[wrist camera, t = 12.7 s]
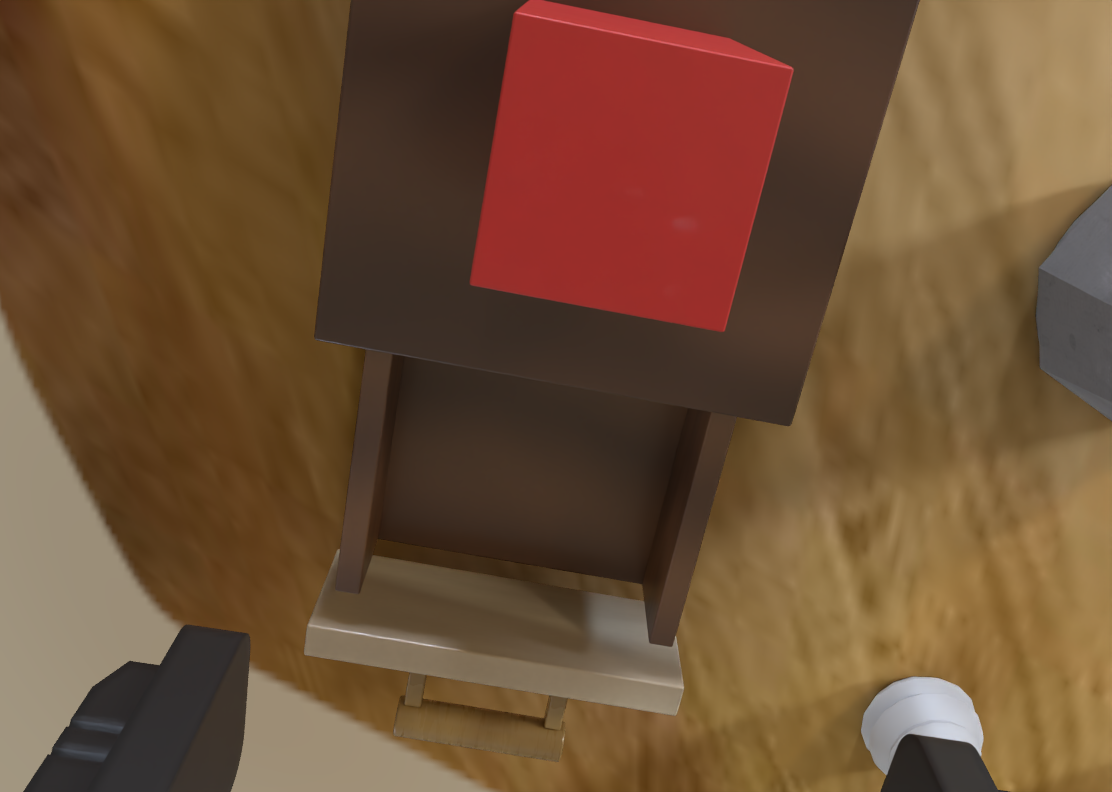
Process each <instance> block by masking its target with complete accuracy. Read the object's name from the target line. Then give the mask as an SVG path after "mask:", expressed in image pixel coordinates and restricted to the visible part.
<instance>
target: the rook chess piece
mask: <svg viewBox="0 0 1112 792" xmlns="http://www.w3.org/2000/svg"><path fill="white" fill-rule="evenodd" d="M861 733H862V736H863V739H864V742H865V745H866V747H867V749H868V750H869V751H870V752H871V755H872V758H873V761H874V763H875V764H876V765H877V766H878V768H879V769H880V770H881V771H882V772H883V773H885V774H886V775H887V773H888V770H889V767H890V765H891V762H892V759H893V757H894V754H895V751H896V749H897V746H898V744H899V742H900V741H901V739H902V738H903V737H904V736H905V735H907V734H916V735H922V736H929V737H936V738H943V739H949V740H956V741H963V742H968V743H970V744H972V745H973V746H974V747H975V748H976V750H977V751H978V753H979V755H980V757H981V754H982V753H981V748H982V744H983V731H982V728H981V724H980V721H979V718H978V715H977V714H976V713H975V710H974V707H973V703H972V700H971V699H970V697H969V696H968V695H967V694H966V693H965V692H964V691H963V690H962V689H961V688H960V687H959V686H957V685H955V684H952V683H949V682H947V681H944V680H942V679H939V678H934V677H910V678H906V679H903V680H899V681H896V682H893V683H892V684H890V685H889V686H887V687H886V688H885V689H883V690H882V691H880V692H879V693H878V694H877V695H876V697H875V698H874V699H873V701H872V702H871V704H870V705H869V707H868V708H867V710H866V711H865V713H864V716H863V722H862V728H861Z"/></svg>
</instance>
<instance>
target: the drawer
mask: <svg viewBox="0 0 1112 792" xmlns="http://www.w3.org/2000/svg"><path fill="white" fill-rule="evenodd" d="M736 419H737V417H735V416H729V415H724V414H719V413H713V412H708V411H702V410H697V409H691V408H686V407H680V406H675V405H669V404H664V403H658V402H653V401H647V400H642V399H636V398H631V397H625V396H620V395H614V394H609V393H603V392H598V391H592V390H587V389H581V388H576V387H570V386H565V385H559V384H554V383H549V382H543V381H538V380H532V379H527V378H521V377H516V376H510V375H505V374H499V373H494V372H488V371H483V370H477V369H472V368H466V367H461V366H455V365H450V364H444V363H439V362H433V361H428V360H422V359H417V358H411V357H406V356H400V355H395V354H389V353H384V352H379V351H373V350H368V349H366V352H365V360H364V367H363V375H362V383H361V391H360V398H359V406H358V414H357V422H356V429H355V437H354V445H353V453H352V460H351V468H350V476H349V484H348V491H347V499H346V507H345V515H344V522H343V530H342V538H341V545H340V549H339V550H337V552H336V555H335V557H334V560H333V562H332V565H331V567H330V570H329V572H328V575H327V577H326V580H325V582H324V585H323V587H322V590H321V592H320V595H319V597H318V600H317V602H316V605H315V607H314V610H313V612H312V615H311V617H310V620H309V622H308V625H307V631H306V639H305V648H304V654H305V655H308V656H314V657H320V658H326V659H332V660H338V661H345V662H351V663H357V664H363V665H369V666H375V667H381V668H387V669H393V670H399V671H405V672H409V678H408V684H407V690H406V696H404V695H402V696H401V697H400V699H399V704H398V708H397V713H396V719H395V724H394V730H393V734H394V735H395V736H399V737H405V738H411V739H418V740H424V741H430V742H436V743H442V744H449V745H455V746H461V747H467V748H474V749H480V750H486V751H492V752H498V753H505V754H511V755H517V756H523V757H530V758H536V759H542V760H548V761H554V762H559V760H560V758H561V755H562V751H563V746H564V739H565V723H564V722H563V721H562V720H563V716H564V712H565V708H566V704H567V699H568V698H570V699H576V700H582V701H588V702H594V703H600V704H606V705H612V706H618V707H624V708H630V709H637V710H643V711H649V712H655V713H661V714H667V715H673V716H675V715H676V714H677V712H678V708H679V705H680V701H681V698H682V694H683V691H684V684H683V678H682V671H681V665H680V659H679V652H678V646H677V639H676V633H677V629H678V626H679V622H680V619H681V615H682V611H683V608H684V604H685V601H686V597H687V594H688V590H689V586H690V583H691V579H692V576H693V572H694V569H695V565H696V561H697V558H698V554H699V551H700V547H701V544H702V540H703V536H704V533H705V529H706V526H707V522H708V519H709V515H710V511H711V508H712V504H713V501H714V497H715V494H716V490H717V486H718V483H719V479H720V476H721V472H722V469H723V465H724V462H725V458H726V454H727V451H728V447H729V444H730V440H731V437H732V433H733V429H734V426H735V422H736ZM378 539H383V540H389V541H394V542H400V543H406V544H412V545H418V546H423V547H429V548H435V549H441V550H447V551H453V552H458V553H464V554H470V555H476V556H482V557H488V558H493V559H499V560H505V561H511V562H517V563H522V564H528V565H534V566H540V567H546V568H552V569H557V570H563V571H569V572H575V573H581V574H587V575H592V576H598V577H604V578H610V579H616V580H621V581H627V582H633V583H639V584H642V586H643V595H644V601H639V600H633V599H628V598H622V597H616V596H610V595H604V594H598V593H592V592H587V591H581V590H575V589H569V588H563V587H557V586H551V585H546V584H540V583H534V582H528V581H522V580H516V579H510V578H505V577H499V576H493V575H487V574H481V573H475V572H469V571H464V570H458V569H452V568H446V567H440V566H434V565H428V564H423V563H417V562H411V561H405V560H399V559H393V558H387V557H382V556H376V555H373V552H374V549H375V546H376V543H377V540H378ZM427 675H430V676H436V677H442V678H448V679H454V680H460V681H466V682H472V683H478V684H484V685H491V686H497V687H503V688H509V689H515V690H521V691H527V692H533V693H539V694H545V695H549V699H548V703H547V708H546V712H545V716H544V718H539V717H533V716H526V715H520V714H514V713H508V712H502V711H496V710H490V709H483V708H477V707H471V706H465V705H459V704H453V703H447V702H440V701H434V700H428V699H423V694H424V688H425V682H426V676H427Z"/></svg>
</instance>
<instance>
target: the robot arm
mask: <svg viewBox="0 0 1112 792" xmlns="http://www.w3.org/2000/svg"><path fill="white" fill-rule="evenodd" d="M249 660H250V637H249V634H248V633H241V632H234V631H228V630H221V629H214V628H208V627H201V626H194V625H185V626H184V627H183V628H182V629H181V630H180V632H179V633H178V635H177V637H176V638H175V640H174V642H173V644H172V645H171V647H170V649H169V650H168V652H167V654H166V656H165V657H164V659H163V661H162V663H161V664H160V665H154V664H147V663H140V662H133V661H129V662H127V663H126V664H124V665H123V666H122V667H120V668H119V669H117V670H116V671H115V672H113V673H112V674H110V675H109V676H107V677H106V678H105V679H103V680H102V681H100V682H99V683H98V684H96V685H95V686H93V687H92V689H91V690H90V691H89V693H88V694H87V696H86V698H85V699H84V701H83V702H82V704H81V705H80V707H79V708H78V710H77V711H76V713H75V714H74V716H73V717H72V719H71V722H70V725H69V727H66V728H65V729H64V731H63V732H62V734H61V735H60V737H59V738H58V740H57V741H56V743H55V744H54V746H53V749H52V752H51V755H47V757H46V758H45V760H44V761H43V763H42V764H41V766H40V767H39V769H38V770H37V772H36V773H35V775H34V776H33V778H32V779H31V781H30V782H29V784H28V785H27V787H26V788H25V790H24V791H23V792H230V791H231V789H232V786H233V783H234V780H235V777H236V773H237V770H238V766H239V761H240V757H241V752H242V746H243V739H244V728H245V714H246V701H247V687H248V673H249ZM881 792H1009V791H1002V790H998V789H997V787H996V786H995V784H994V782H993V780H992V778H991V776H990V774H989V772H988V770H987V768H986V766H985V764H984V762H983V761H982V759H981V757H980V755H979V753H978V751H977V750H976V748H975V747H974V746H973V745H972V744H970V743H968V742H963V741H956V740H949V739H943V738H936V737H929V736H922V735H916V734H907V735H905V736H904V737H903V738H902V739H901V741H900V742H899V744H898V746H897V749H896V751H895V754H894V757H893V759H892V762H891V765H890V767H889V770H888V773H887V776H886V778H885V781H884V784H883V786H882V789H881Z"/></svg>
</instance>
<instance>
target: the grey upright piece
mask: <svg viewBox="0 0 1112 792" xmlns="http://www.w3.org/2000/svg"><path fill="white" fill-rule="evenodd" d="M1036 323H1037V331H1038V339H1039V344H1040V369H1042V370H1043V371H1044V372H1046V373H1047V374H1048V375H1050V376H1051V377H1053V378H1054V379H1055V380H1057V381H1058V382H1059V383H1061V384H1062V385H1063V386H1065V387H1066V388H1068V389H1069V390H1070V391H1072V392H1073V393H1074V394H1076V395H1077V396H1078V397H1080V398H1081V399H1082V400H1084V401H1085V402H1087V403H1088V404H1089V405H1091V406H1092V407H1093V408H1095V409H1096V410H1097V411H1099V412H1100V413H1101V414H1103V415H1104V416H1106V417H1107V418H1108V419H1110V420H1111V421H1112V186H1110V187H1109V188H1108V189H1107V190H1106V191H1105V192H1104V193H1103V194H1102V195H1101V196H1100V197H1099V198H1098V199H1097V200H1096V201H1095V202H1094V203H1093V204H1092V205H1091V206H1090V207H1089V208H1088V209H1087V210H1086V211H1085V212H1084V213H1083V214H1082V215H1080V216H1079V217H1078V218H1077V219H1076V220H1075V221H1074V222H1073V224H1072V225H1071V226H1070V228H1069V229H1068V230H1067V232H1066V233H1065V234H1064V236H1063V237H1062V238H1061V240H1060V241H1059V242H1058V244H1057V245H1056V247H1055V249H1054V251H1053V252H1052V253H1051V255H1050V256H1049V257H1048V258H1047V259H1046V260H1045V261H1044V262H1043V264H1042V265H1041V266H1040V267H1039V275H1038V296H1037V307H1036Z"/></svg>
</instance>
